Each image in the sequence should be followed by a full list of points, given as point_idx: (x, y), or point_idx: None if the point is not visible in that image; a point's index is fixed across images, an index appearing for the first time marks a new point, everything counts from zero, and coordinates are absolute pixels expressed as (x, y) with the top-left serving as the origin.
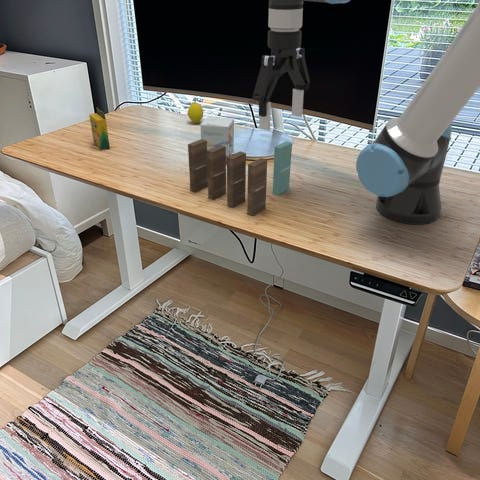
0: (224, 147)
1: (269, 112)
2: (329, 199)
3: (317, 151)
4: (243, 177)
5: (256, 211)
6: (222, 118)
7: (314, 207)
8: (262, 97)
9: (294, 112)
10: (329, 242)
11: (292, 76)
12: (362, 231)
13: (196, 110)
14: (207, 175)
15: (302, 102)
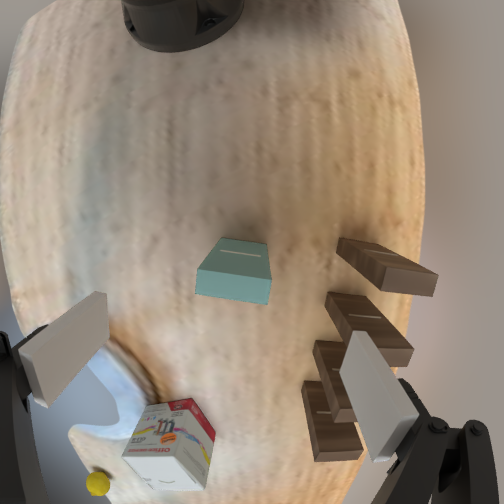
0: (344, 408)
1: (391, 378)
2: (219, 133)
3: (33, 271)
4: (351, 316)
5: (370, 243)
6: (142, 472)
7: (276, 145)
8: (479, 436)
9: (102, 331)
10: (384, 79)
11: (36, 475)
12: (314, 39)
13: (99, 486)
14: (308, 395)
15: (62, 319)
